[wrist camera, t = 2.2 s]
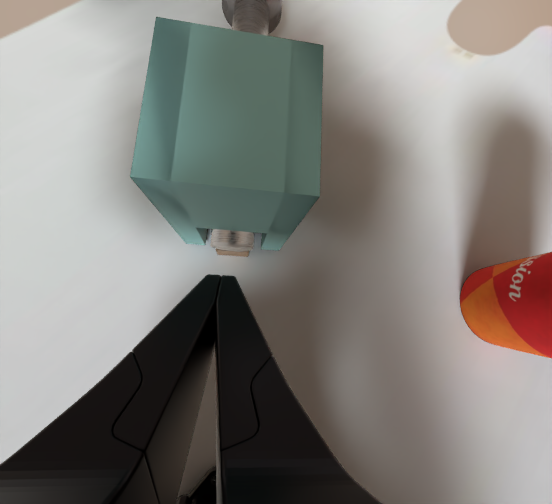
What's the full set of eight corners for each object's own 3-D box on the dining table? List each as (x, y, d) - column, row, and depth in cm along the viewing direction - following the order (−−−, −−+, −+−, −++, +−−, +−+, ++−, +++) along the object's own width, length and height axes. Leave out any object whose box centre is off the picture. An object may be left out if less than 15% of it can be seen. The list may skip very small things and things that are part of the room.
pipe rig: (310, 261, 19) (334, 247, 15) (149, 249, 18) (118, 230, 13) (316, 47, 23) (337, -20, 18) (181, 24, 21) (165, -55, 17)
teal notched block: (278, 250, 19) (319, 196, 9) (186, 243, 18) (130, 177, 9) (283, 167, 20) (323, 45, 10) (196, 157, 19) (156, 16, 10)
